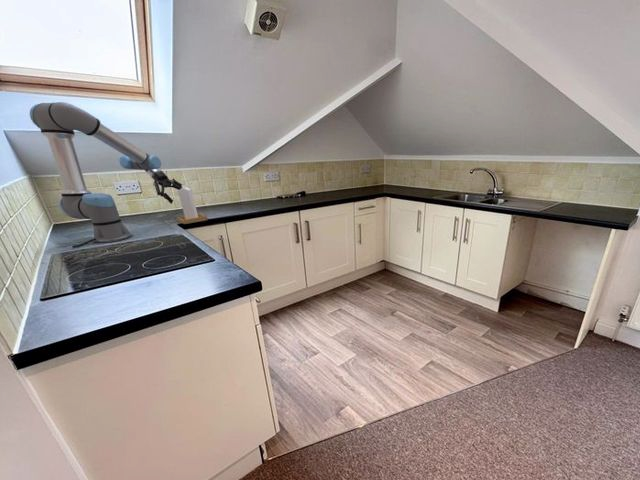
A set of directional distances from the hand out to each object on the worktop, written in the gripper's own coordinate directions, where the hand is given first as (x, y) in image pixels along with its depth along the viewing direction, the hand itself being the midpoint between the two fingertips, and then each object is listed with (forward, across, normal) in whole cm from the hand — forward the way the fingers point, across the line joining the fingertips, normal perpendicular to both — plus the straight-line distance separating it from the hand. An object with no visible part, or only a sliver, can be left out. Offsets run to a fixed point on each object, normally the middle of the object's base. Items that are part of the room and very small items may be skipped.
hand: (181, 200), depth 191 cm
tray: (+12, 0, -6) cm, 14 cm away
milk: (+12, 0, -6) cm, 13 cm away
